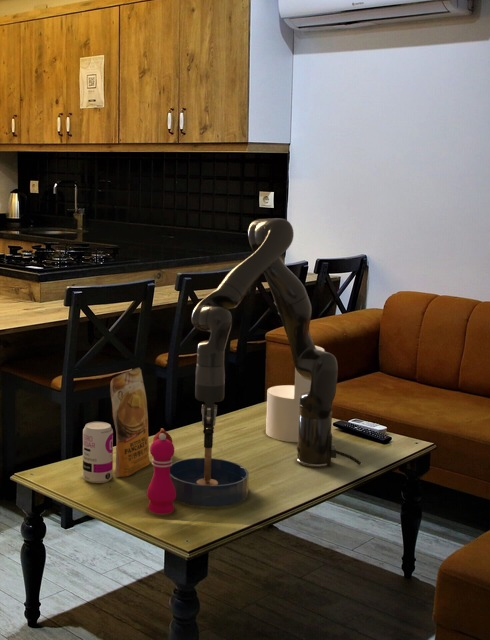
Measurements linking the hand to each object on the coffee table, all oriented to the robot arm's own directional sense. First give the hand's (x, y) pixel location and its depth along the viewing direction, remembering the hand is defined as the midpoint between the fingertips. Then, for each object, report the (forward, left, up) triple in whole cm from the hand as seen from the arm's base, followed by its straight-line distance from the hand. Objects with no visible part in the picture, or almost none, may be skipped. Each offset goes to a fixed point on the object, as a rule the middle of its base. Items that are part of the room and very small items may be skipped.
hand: (208, 445), depth 230 cm
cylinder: (-26, -56, -13) cm, 63 cm away
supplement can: (+30, -6, -13) cm, 33 cm away
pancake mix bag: (+22, -15, -13) cm, 30 cm away
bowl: (0, 0, -13) cm, 13 cm away
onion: (+14, -29, -13) cm, 35 cm away
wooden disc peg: (0, 0, -12) cm, 12 cm away
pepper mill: (+11, +14, -13) cm, 22 cm away
